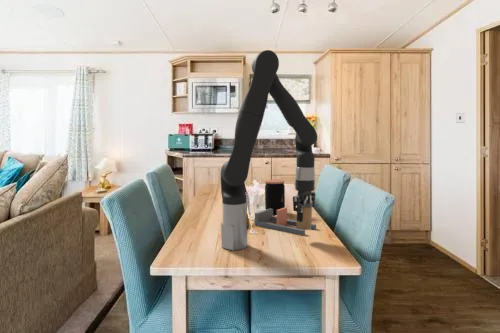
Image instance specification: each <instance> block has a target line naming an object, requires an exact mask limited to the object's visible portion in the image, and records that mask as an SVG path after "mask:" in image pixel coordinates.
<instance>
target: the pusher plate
mask: <svg viewBox="0 0 500 333" xmlns="http://www.w3.org/2000/svg"><path fill="white" fill-rule="evenodd" d="M276 211H277V215H274V217H277V223H276V224H278V225H283V226H288V225H287V219H288V207H286V206H285V208H282V209H278V210H276Z"/></svg>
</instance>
